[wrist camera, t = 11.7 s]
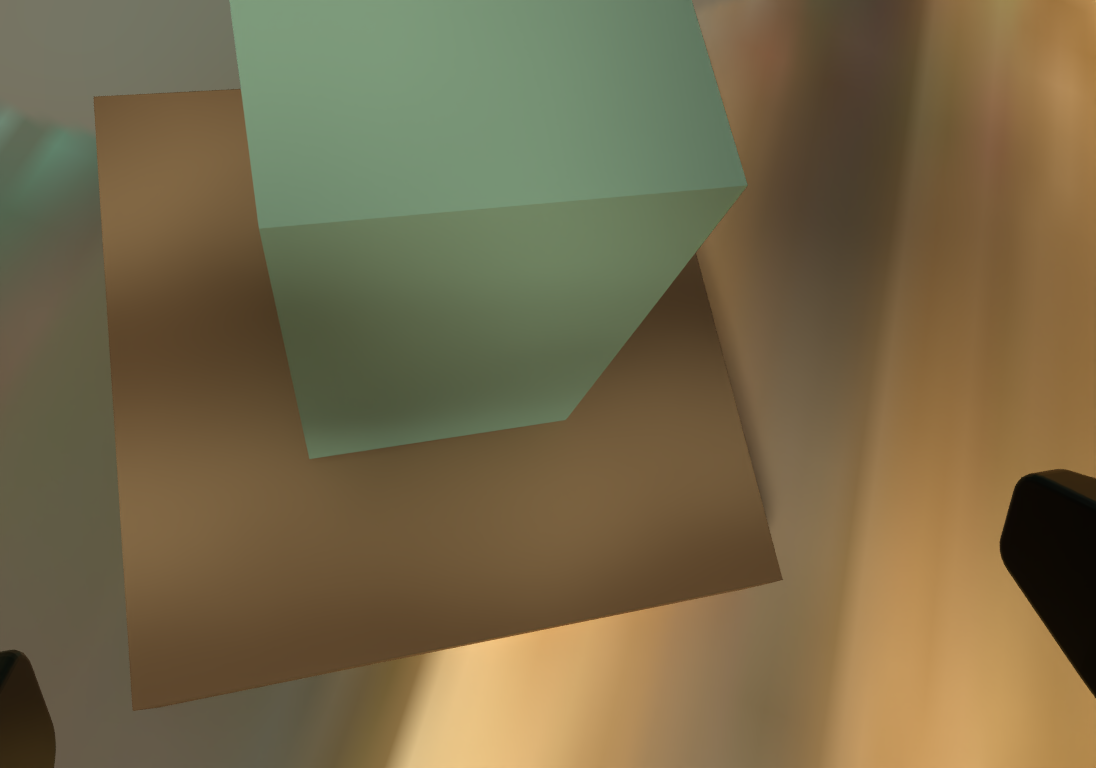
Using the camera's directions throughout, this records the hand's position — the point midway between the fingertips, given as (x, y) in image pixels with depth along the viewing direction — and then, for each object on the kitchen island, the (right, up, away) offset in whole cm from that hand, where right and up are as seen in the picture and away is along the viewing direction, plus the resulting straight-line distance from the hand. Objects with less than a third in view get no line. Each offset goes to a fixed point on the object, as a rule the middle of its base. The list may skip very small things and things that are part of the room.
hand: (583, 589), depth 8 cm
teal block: (-3, +3, +10) cm, 11 cm away
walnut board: (-3, +2, +12) cm, 13 cm away
